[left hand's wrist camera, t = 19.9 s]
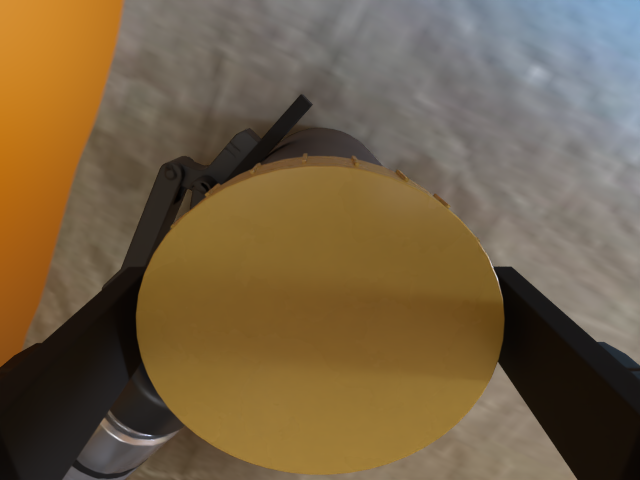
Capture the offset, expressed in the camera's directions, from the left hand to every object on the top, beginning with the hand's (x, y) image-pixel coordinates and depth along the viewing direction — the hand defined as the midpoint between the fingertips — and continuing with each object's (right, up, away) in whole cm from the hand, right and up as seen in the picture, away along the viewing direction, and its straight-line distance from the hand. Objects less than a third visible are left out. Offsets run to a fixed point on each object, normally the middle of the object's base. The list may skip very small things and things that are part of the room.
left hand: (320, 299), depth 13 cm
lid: (0, -1, -2) cm, 2 cm away
